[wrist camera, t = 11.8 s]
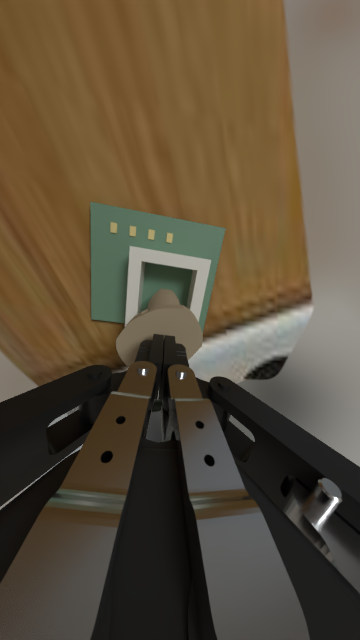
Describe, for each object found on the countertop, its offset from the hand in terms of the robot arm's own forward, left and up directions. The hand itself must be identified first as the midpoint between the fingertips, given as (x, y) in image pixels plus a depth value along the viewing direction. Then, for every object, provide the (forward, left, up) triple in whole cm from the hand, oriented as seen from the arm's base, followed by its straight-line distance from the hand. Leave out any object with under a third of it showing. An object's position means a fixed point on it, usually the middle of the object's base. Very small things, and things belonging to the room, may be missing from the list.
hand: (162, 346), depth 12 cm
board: (-3, -2, -17) cm, 17 cm away
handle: (0, 0, -16) cm, 16 cm away
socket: (-1, 0, -16) cm, 16 cm away
